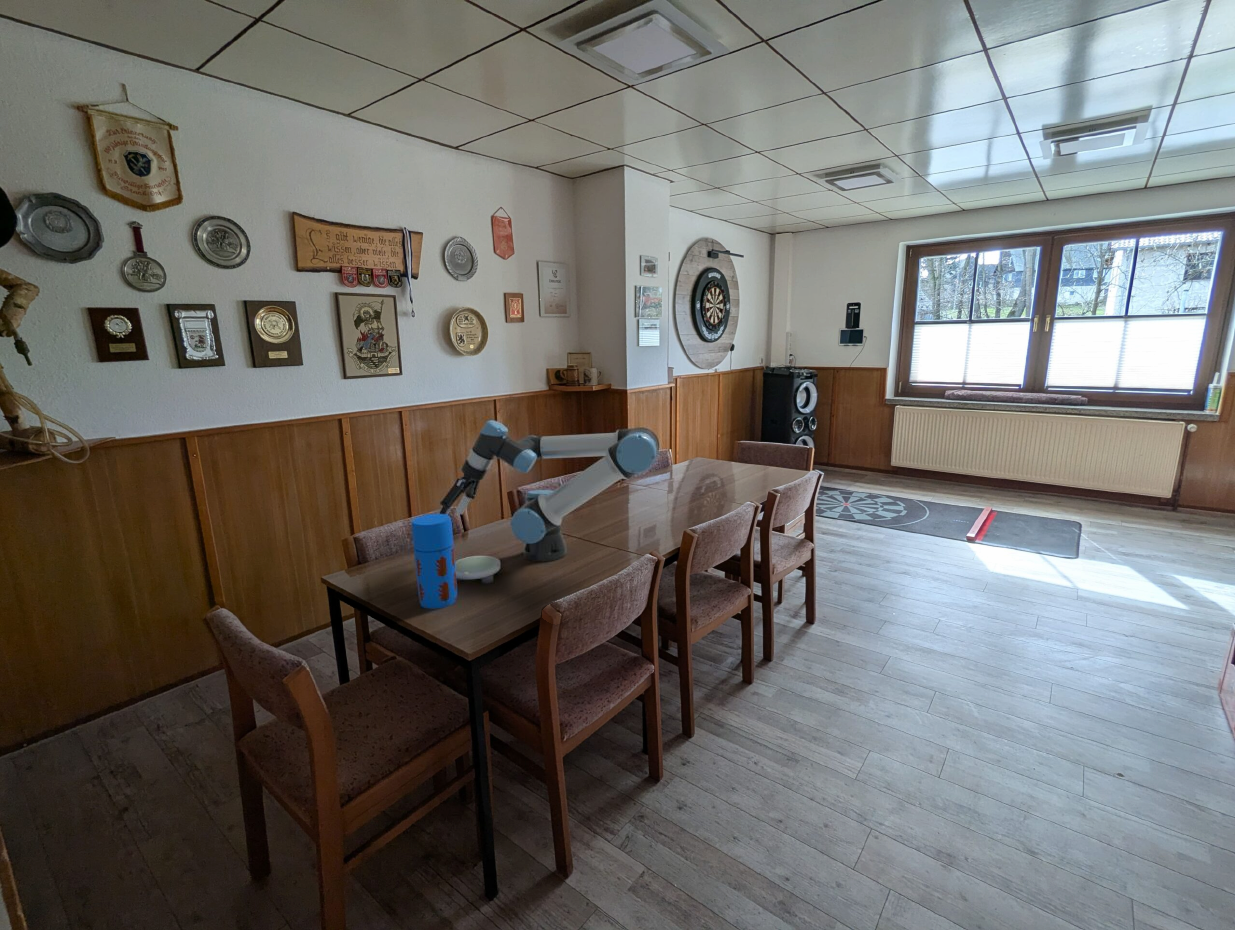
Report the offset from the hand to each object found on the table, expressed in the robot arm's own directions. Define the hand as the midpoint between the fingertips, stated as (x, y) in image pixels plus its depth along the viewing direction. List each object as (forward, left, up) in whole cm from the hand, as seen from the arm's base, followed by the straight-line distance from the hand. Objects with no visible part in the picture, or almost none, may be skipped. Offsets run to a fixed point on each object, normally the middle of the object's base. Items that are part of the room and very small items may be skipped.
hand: (449, 517), depth 191 cm
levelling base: (-12, +8, -17) cm, 22 cm away
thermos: (-8, +26, -17) cm, 32 cm away
